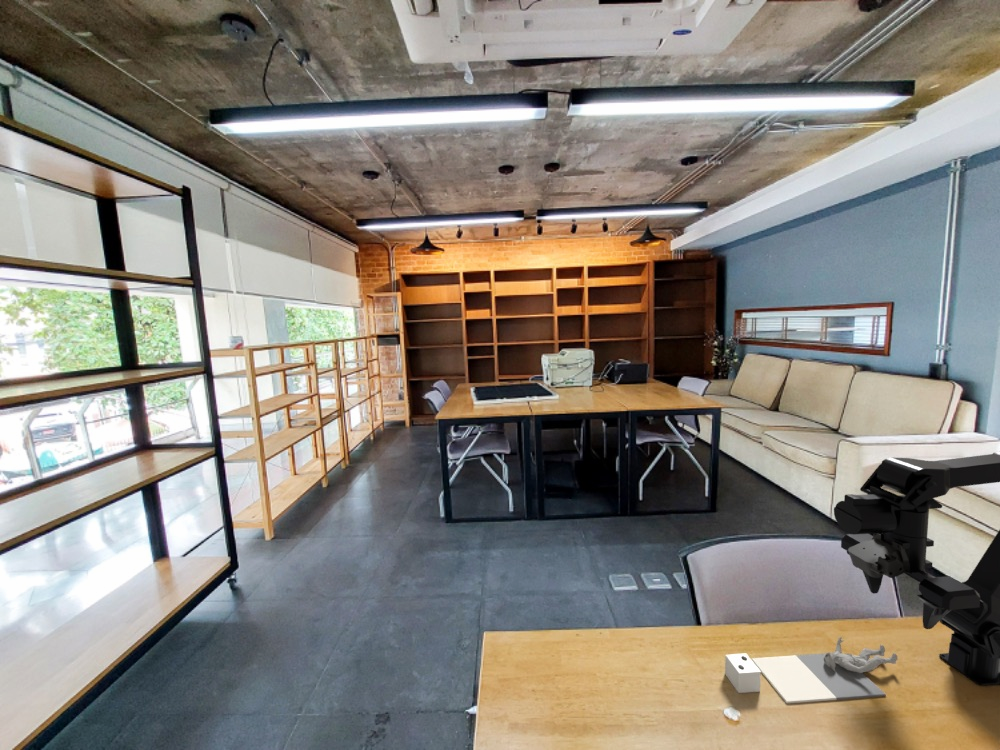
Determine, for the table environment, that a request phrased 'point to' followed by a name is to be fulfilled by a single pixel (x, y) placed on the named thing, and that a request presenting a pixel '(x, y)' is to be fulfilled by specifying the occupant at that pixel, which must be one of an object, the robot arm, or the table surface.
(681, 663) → the table surface
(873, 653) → the soldier figure
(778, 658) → the board
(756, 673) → the die
